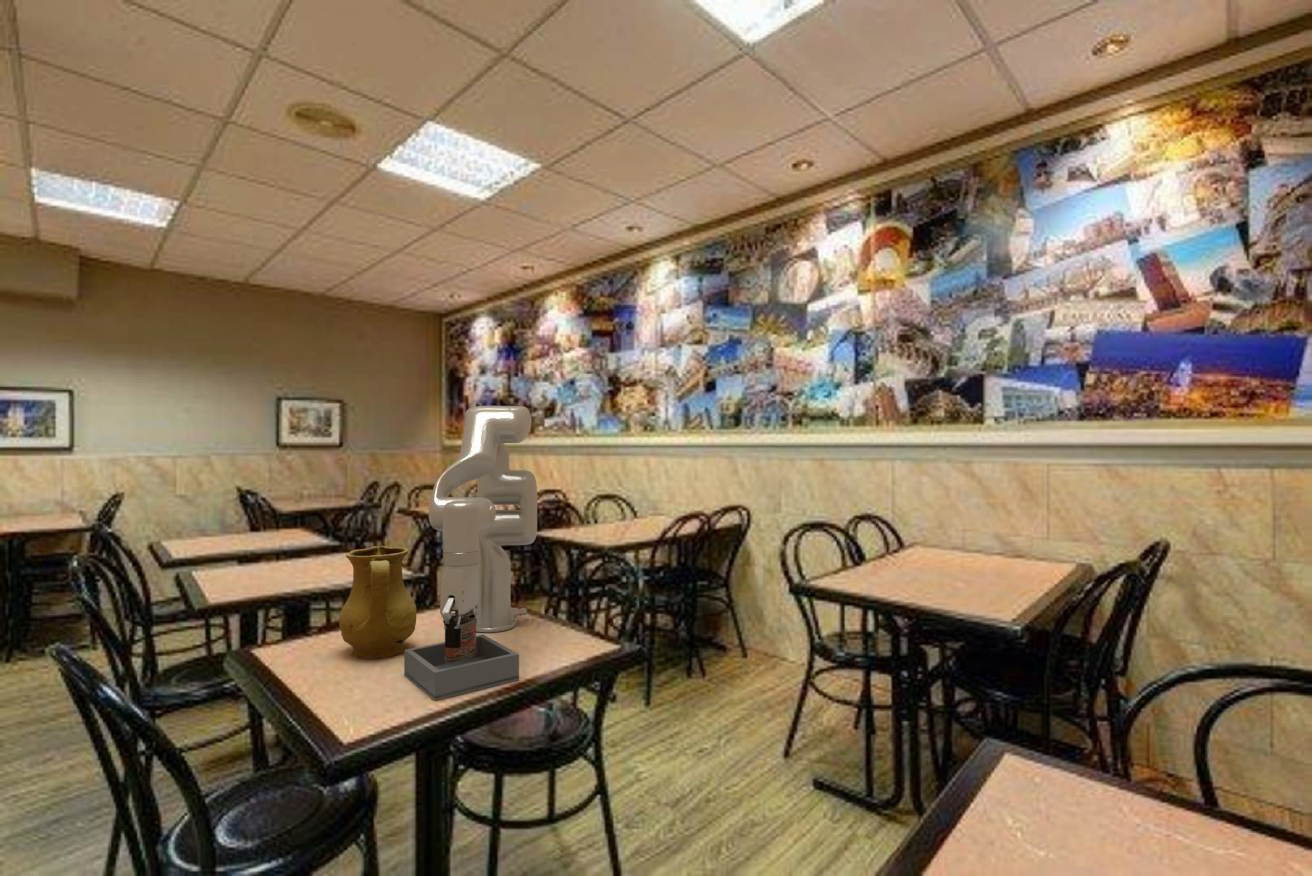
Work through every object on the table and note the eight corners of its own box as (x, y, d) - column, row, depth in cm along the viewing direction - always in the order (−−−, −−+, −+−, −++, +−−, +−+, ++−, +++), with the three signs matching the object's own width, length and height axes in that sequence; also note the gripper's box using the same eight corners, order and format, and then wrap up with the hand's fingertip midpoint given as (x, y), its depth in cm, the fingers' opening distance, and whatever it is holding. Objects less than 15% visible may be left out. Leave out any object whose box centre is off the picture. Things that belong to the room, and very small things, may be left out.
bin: (483, 658, 153) (483, 634, 154) (518, 680, 139) (519, 654, 139) (404, 675, 142) (404, 649, 142) (434, 701, 128) (434, 672, 128)
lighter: (452, 664, 136) (452, 615, 137) (440, 661, 138) (440, 613, 138) (480, 653, 143) (480, 607, 144) (469, 651, 145) (469, 605, 145)
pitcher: (430, 639, 167) (425, 541, 166) (394, 668, 148) (388, 558, 147) (366, 639, 169) (360, 542, 167) (322, 667, 150) (316, 559, 149)
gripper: (460, 552, 150) (460, 629, 150) (425, 566, 133) (425, 654, 133) (492, 552, 149) (492, 630, 149) (461, 567, 132) (461, 655, 132)
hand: (461, 641), depth 141 cm, fingers closed on lighter, 7 cm apart
